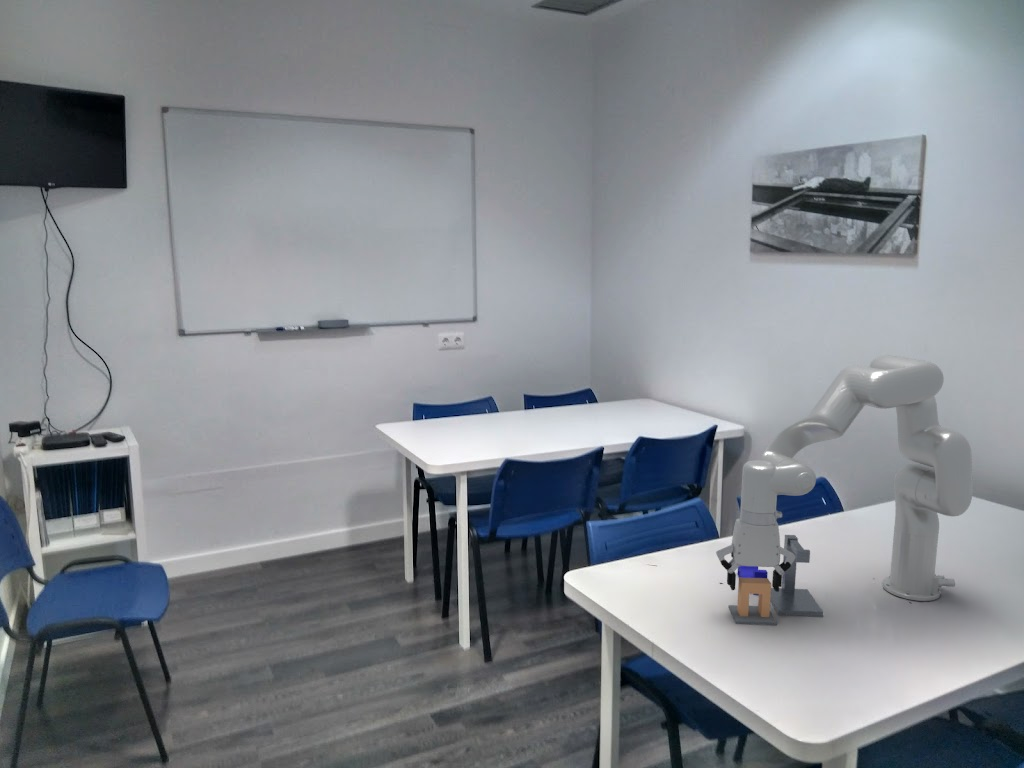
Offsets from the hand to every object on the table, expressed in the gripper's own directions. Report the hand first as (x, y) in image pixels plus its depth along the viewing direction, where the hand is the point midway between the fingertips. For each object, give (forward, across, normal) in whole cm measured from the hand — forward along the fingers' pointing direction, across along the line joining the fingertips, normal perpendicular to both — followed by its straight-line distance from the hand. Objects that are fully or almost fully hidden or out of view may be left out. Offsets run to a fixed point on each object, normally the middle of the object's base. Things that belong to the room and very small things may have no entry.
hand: (753, 588), depth 172 cm
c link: (+6, 0, 0) cm, 6 cm away
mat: (+7, 0, 0) cm, 7 cm away
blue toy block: (+7, -4, -18) cm, 19 cm away
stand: (+7, -11, -7) cm, 15 cm away
